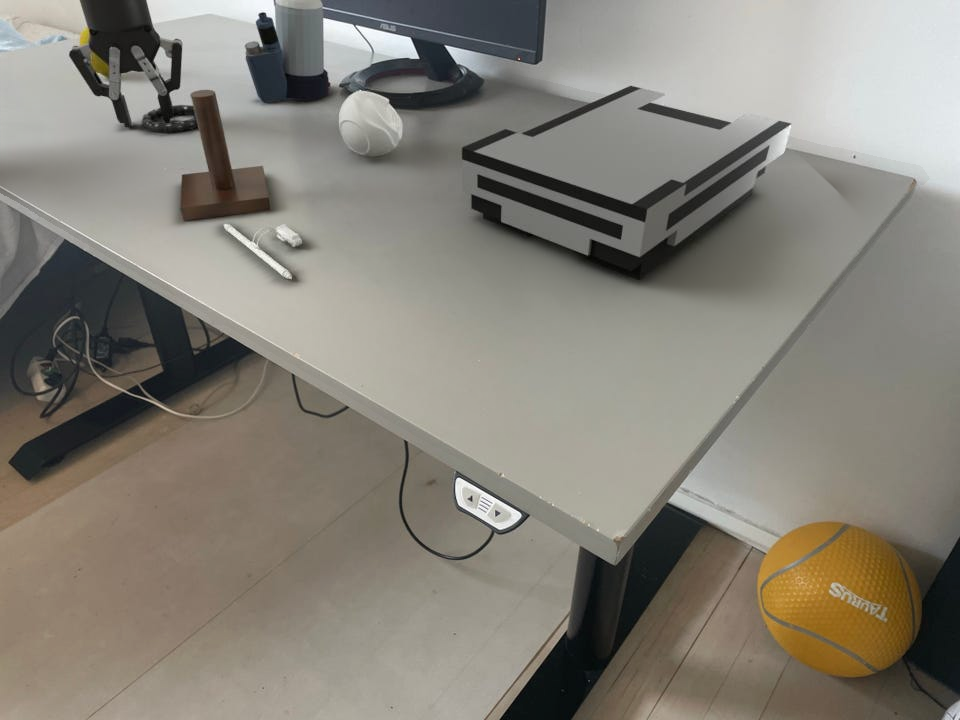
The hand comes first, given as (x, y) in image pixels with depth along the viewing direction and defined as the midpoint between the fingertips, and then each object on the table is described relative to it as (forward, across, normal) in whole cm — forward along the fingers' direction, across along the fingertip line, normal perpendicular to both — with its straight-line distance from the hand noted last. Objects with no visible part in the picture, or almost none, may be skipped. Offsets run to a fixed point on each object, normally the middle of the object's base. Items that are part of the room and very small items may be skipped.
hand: (147, 122), depth 98 cm
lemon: (+1, +7, -25) cm, 26 cm away
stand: (0, -10, +27) cm, 29 cm away
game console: (+1, -52, +41) cm, 66 cm away
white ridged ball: (+1, -28, +19) cm, 34 cm away
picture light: (+1, -14, +40) cm, 42 cm away
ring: (0, -4, 0) cm, 4 cm away
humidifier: (0, -22, -8) cm, 23 cm away
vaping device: (0, -18, -6) cm, 19 cm away
